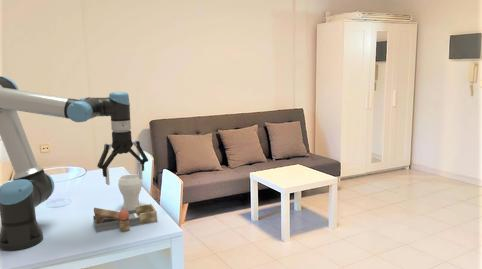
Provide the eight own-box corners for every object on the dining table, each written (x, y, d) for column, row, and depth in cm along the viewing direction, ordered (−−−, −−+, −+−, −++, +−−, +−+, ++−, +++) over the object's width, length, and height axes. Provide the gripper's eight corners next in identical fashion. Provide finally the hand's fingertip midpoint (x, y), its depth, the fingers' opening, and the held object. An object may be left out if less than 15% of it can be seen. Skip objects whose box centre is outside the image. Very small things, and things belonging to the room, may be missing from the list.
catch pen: (140, 224, 170) (140, 214, 169) (136, 215, 180) (135, 206, 179) (157, 221, 173) (156, 211, 172) (151, 213, 183) (151, 203, 182)
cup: (137, 212, 185) (135, 180, 182) (116, 210, 187) (113, 179, 184) (146, 204, 195) (145, 174, 192) (126, 202, 197) (124, 173, 194)
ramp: (96, 227, 164) (94, 213, 163) (94, 220, 171) (93, 207, 170) (129, 221, 169) (128, 208, 168) (126, 215, 177) (125, 202, 176)
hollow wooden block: (121, 232, 162) (120, 221, 162) (119, 229, 165) (119, 218, 165) (129, 230, 164) (128, 220, 163) (128, 227, 167) (127, 217, 166)
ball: (119, 222, 161) (118, 212, 160) (117, 219, 165) (117, 209, 164) (130, 221, 163) (129, 210, 162) (128, 217, 167) (128, 207, 166)
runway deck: (95, 232, 163) (95, 224, 162) (93, 222, 173) (93, 215, 172) (140, 224, 170) (140, 217, 170) (136, 215, 180) (135, 209, 179)
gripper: (91, 135, 151) (95, 189, 155) (154, 128, 165) (156, 178, 168) (87, 132, 158) (91, 184, 161) (147, 126, 171) (150, 174, 175)
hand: (124, 181), depth 165 cm, fingers open, 13 cm apart
